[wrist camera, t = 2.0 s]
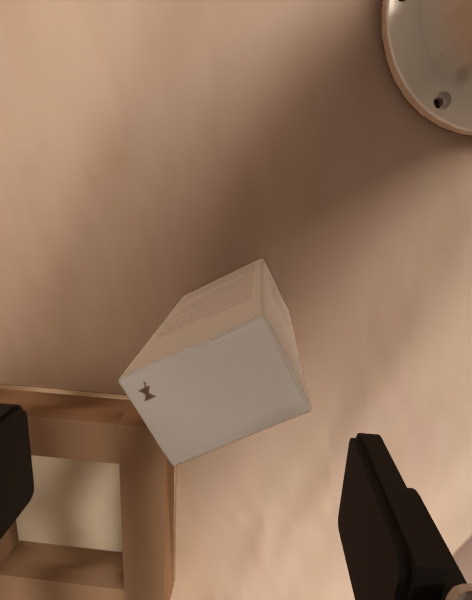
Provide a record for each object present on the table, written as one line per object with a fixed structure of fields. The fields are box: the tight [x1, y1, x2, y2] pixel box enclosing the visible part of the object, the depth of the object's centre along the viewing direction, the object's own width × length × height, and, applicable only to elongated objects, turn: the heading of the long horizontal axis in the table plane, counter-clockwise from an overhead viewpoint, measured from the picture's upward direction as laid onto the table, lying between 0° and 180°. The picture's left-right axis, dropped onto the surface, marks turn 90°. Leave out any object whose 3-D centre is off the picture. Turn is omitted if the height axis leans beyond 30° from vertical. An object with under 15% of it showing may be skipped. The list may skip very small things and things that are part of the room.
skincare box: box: [118, 258, 311, 466], centre depth 19 cm, size 6×4×12 cm
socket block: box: [0, 384, 176, 600], centre depth 28 cm, size 16×17×4 cm
